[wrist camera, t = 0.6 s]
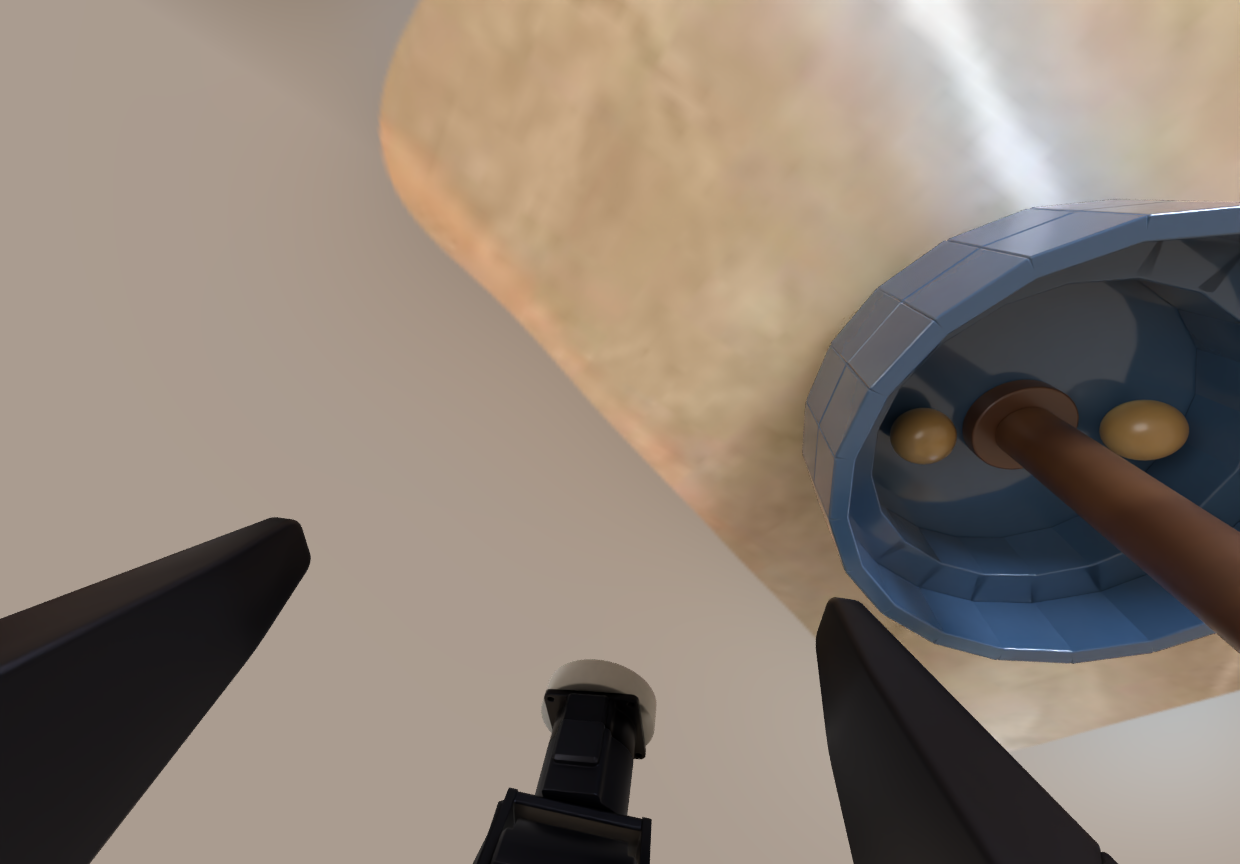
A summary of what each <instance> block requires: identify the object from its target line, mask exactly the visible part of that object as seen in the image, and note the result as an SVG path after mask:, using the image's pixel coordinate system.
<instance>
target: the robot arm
mask: <svg viewBox="0 0 1240 864" xmlns="http://www.w3.org/2000/svg"><path fill="white" fill-rule="evenodd" d="M310 559H311V556H310V552H309V549H308V546H307V543H306V539H305V536H304V533H303V530H302V527H301V525H300V524H299V523H298V522H297V521H295V520H292V519H285V518H278V517H274V518H269V519H266V520H263V521H261V522H258V523H255V524H253V525H250V526H247V527H244V528H242V529H239V530H236V531H234V532H231V533H229V534H226V535H223V536H221V537H218V538H215V539H212V540H210V541H207V542H204V543H202V544H199V545H196V546H194V547H191V548H189V549H186V550H183V551H180V552H178V553H175V554H172V555H170V556H167V557H164V558H162V559H159V560H156V561H154V562H151V563H148V564H145V565H143V566H140V567H138V568H135V569H132V570H129V571H127V572H124V573H122V574H119V575H116V576H113V577H111V578H108V579H105V580H103V581H100V582H98V583H95V584H92V585H89V586H87V587H84V588H81V589H79V590H76V591H74V592H71V593H68V594H65V595H63V596H60V597H57V598H55V599H52V600H49V601H47V602H44V603H42V604H39V605H36V606H33V607H31V608H28V609H26V610H23V611H20V612H17V613H15V614H12V615H9V616H7V617H4V618H1V619H0V864H90V862H91V861H92V860H93V859H94V857H95V856H96V855H97V854H98V852H99V851H100V850H101V848H102V847H103V846H104V844H105V843H106V842H107V841H108V839H109V838H110V837H111V836H112V834H113V833H114V832H115V830H116V829H117V828H118V827H119V825H120V824H121V823H122V821H123V820H124V819H125V818H126V816H127V815H128V814H129V812H130V811H131V810H132V809H133V807H134V806H135V805H136V803H137V802H138V801H139V800H140V798H141V797H142V796H143V794H144V793H145V792H146V791H147V789H148V788H149V786H150V785H151V784H152V783H153V781H154V780H155V779H156V778H157V776H158V775H159V774H160V772H161V771H162V770H163V769H164V767H165V766H166V765H167V763H168V762H169V761H170V760H171V758H172V757H173V756H174V754H175V753H176V752H177V751H178V749H179V748H180V747H181V745H182V744H183V743H184V742H185V740H186V739H187V738H188V736H189V735H190V734H191V732H192V731H193V730H194V729H195V727H196V726H197V725H198V724H199V722H200V721H201V720H202V718H203V717H204V716H205V714H206V713H207V712H208V711H209V709H210V708H211V707H212V706H213V704H214V703H215V702H216V700H217V699H218V698H219V696H220V695H221V694H222V692H223V691H224V690H225V689H226V687H227V686H228V685H229V683H230V682H231V681H232V680H233V678H234V677H235V676H236V674H237V673H238V672H239V671H240V669H241V668H242V667H243V666H244V664H245V663H246V662H247V660H248V659H249V657H250V656H251V655H252V654H253V652H254V651H255V649H256V648H257V647H258V645H259V644H260V642H261V641H262V639H263V638H264V636H265V635H266V633H267V632H268V630H269V629H270V627H271V625H272V624H273V622H274V621H275V619H276V618H277V616H278V615H279V613H280V612H281V610H282V609H283V607H284V605H285V604H286V602H287V600H288V599H289V598H290V596H291V595H292V593H293V591H294V590H295V588H296V587H297V585H298V584H299V582H300V581H301V579H302V578H303V576H304V575H305V573H306V571H307V570H308V567H309V565H310ZM816 653H817V662H818V670H819V679H820V687H821V694H822V704H823V712H824V719H825V728H826V736H827V744H828V750H829V755H830V761H831V766H832V770H833V775H834V779H835V783H836V788H837V792H838V797H839V801H840V806H841V810H842V814H843V819H844V823H845V827H846V832H847V836H848V841H849V845H850V849H851V854H852V858H853V862H854V864H1118V863H1117V862H1116V861H1115V860H1114V859H1113V858H1112V857H1111V856H1110V855H1109V854H1107V853H1105V852H1101V851H1100V847H1099V845H1098V843H1097V842H1095V840H1094V839H1093V838H1092V837H1091V836H1090V835H1089V834H1088V833H1087V832H1086V831H1085V830H1084V829H1083V828H1082V827H1081V826H1080V825H1079V824H1078V823H1077V822H1076V821H1075V820H1074V819H1073V818H1072V817H1071V816H1070V815H1069V814H1068V813H1067V812H1066V811H1065V810H1064V809H1063V808H1062V807H1061V806H1060V805H1059V804H1058V803H1057V802H1056V801H1055V800H1054V799H1053V798H1052V797H1051V796H1050V795H1049V793H1048V792H1046V790H1045V789H1044V788H1043V787H1041V785H1040V784H1039V783H1038V782H1037V781H1036V780H1035V779H1034V778H1033V777H1032V776H1031V775H1030V774H1029V773H1028V772H1027V771H1026V770H1025V769H1024V768H1023V767H1022V766H1021V765H1020V764H1019V763H1018V762H1017V761H1016V760H1015V759H1014V758H1013V757H1012V756H1011V755H1010V754H1009V753H1008V752H1007V751H1006V750H1005V749H1004V748H1003V747H1002V746H1001V745H1000V744H999V743H998V742H997V741H996V740H995V739H994V738H993V736H992V735H991V734H990V733H989V732H988V731H987V730H986V729H985V728H984V727H983V726H982V725H981V724H980V723H979V722H978V721H977V720H976V719H975V718H974V717H973V716H972V715H971V714H970V713H969V712H968V711H967V710H966V709H965V708H964V707H963V706H962V705H961V704H960V703H959V702H958V701H957V700H956V699H955V698H954V697H953V696H952V695H951V694H950V693H949V692H948V691H947V690H946V689H945V688H944V687H943V686H942V685H941V684H940V683H939V682H938V681H937V680H936V678H935V677H934V676H933V675H932V674H931V673H930V672H929V671H928V670H927V669H926V668H925V667H924V666H923V665H922V664H921V663H920V662H919V661H918V660H917V659H916V658H915V657H914V656H913V655H912V654H911V653H910V652H909V651H908V650H907V649H906V648H905V647H904V646H903V645H902V644H901V643H900V642H899V641H898V640H897V639H896V638H895V637H894V636H893V635H892V634H891V633H890V632H889V631H888V630H887V629H886V628H885V627H884V626H883V625H882V624H881V623H880V622H879V620H878V619H877V618H876V617H875V616H874V615H873V614H872V613H871V612H870V611H869V610H868V609H867V608H866V607H865V606H864V605H863V604H862V603H860V602H859V601H856V600H851V599H844V598H837V597H834V598H831V599H830V600H829V601H828V603H827V605H826V608H825V611H824V614H823V617H822V620H821V622H820V625H819V628H818V631H817V635H816ZM544 701H545V704H546V708H547V712H548V716H549V719H550V723H551V727H552V734H551V737H550V741H549V745H548V748H547V752H546V756H545V760H544V763H543V767H542V771H541V774H540V778H539V782H538V785H537V789H536V793H535V795H531V794H527V793H523V792H518V790H517V789H514V788H509V789H508V791H507V794H506V796H505V799H504V800H503V801H499V802H498V805H497V808H496V811H495V814H494V817H493V820H492V823H491V826H490V829H489V832H488V835H487V836H486V838H485V841H484V842H483V844H482V846H481V848H480V850H479V852H478V854H477V856H476V858H475V860H474V862H473V864H650V844H651V821H652V820H651V819H649V818H644V817H642V819H640V818H636V817H631V816H627V812H628V803H629V795H630V786H631V777H632V768H633V760H634V759H644V758H645V755H646V746H645V739H644V731H643V724H642V717H641V709H640V702H639V698H638V697H637V696H635V695H632V694H620V693H605V692H590V691H575V690H560V689H548V690H546V692H545V695H544Z"/></svg>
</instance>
